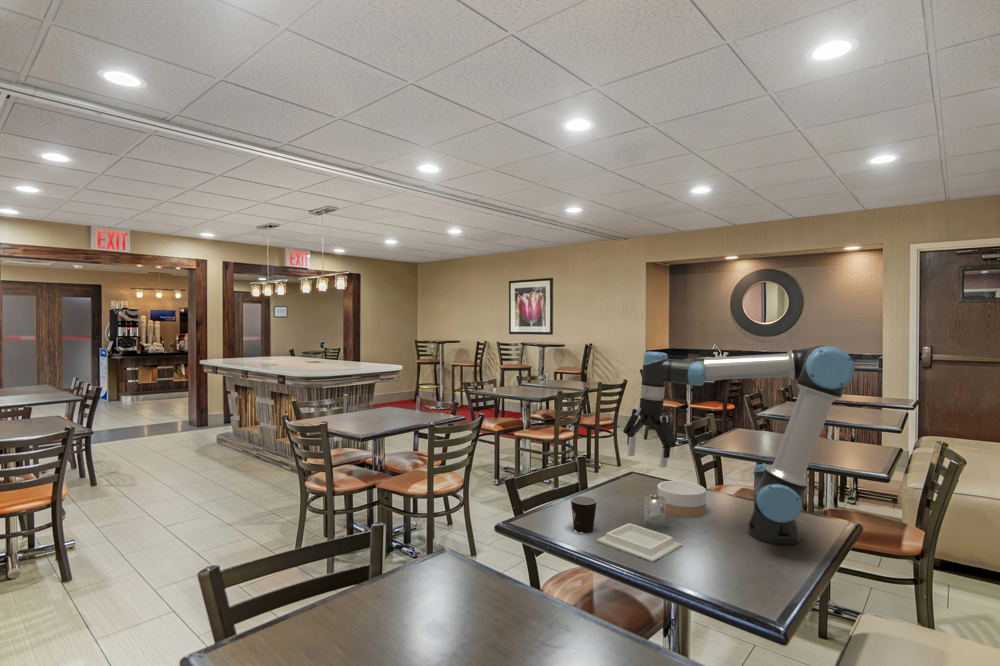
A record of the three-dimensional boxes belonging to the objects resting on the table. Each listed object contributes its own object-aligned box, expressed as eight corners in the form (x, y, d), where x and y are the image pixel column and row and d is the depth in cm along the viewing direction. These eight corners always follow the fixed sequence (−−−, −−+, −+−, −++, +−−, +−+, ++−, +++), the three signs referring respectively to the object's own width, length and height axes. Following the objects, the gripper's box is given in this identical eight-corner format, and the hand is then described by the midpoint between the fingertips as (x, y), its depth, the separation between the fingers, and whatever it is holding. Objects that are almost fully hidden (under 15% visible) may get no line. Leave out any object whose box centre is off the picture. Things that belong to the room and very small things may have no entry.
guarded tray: (682, 546, 161) (682, 537, 161) (652, 563, 150) (652, 553, 150) (627, 528, 176) (627, 519, 176) (596, 541, 165) (596, 533, 165)
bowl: (654, 500, 205) (654, 479, 204) (699, 502, 202) (699, 481, 202) (661, 516, 188) (661, 493, 187) (711, 518, 185) (711, 495, 185)
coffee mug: (596, 535, 170) (596, 505, 169) (569, 533, 171) (569, 503, 171) (596, 522, 181) (597, 494, 181) (572, 520, 183) (572, 492, 183)
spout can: (669, 525, 178) (669, 493, 178) (658, 531, 174) (658, 497, 173) (651, 520, 184) (651, 488, 183) (640, 525, 179) (640, 492, 179)
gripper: (616, 392, 180) (611, 452, 181) (676, 405, 160) (670, 473, 161) (631, 391, 185) (626, 450, 185) (691, 404, 164) (685, 470, 165)
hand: (646, 461), depth 173 cm, fingers open, 13 cm apart
